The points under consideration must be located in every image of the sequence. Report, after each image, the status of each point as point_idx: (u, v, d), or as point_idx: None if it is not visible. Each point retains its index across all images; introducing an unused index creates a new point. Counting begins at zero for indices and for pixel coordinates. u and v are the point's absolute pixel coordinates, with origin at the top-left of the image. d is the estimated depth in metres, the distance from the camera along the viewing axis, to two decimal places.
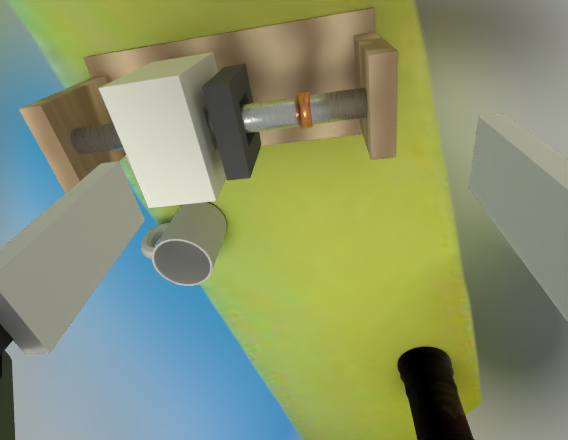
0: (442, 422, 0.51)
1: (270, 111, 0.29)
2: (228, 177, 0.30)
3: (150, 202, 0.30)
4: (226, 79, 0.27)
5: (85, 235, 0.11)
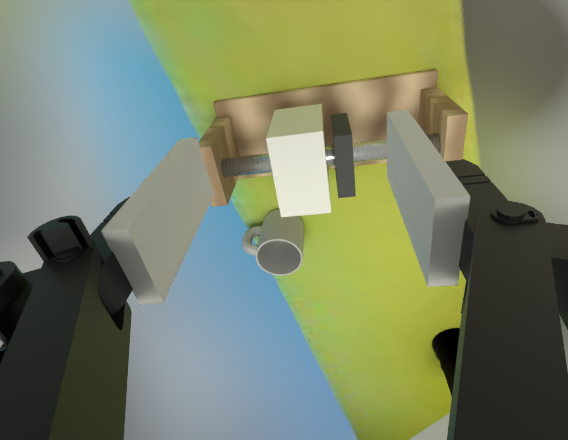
0: None
1: (370, 149, 0.42)
2: (339, 195, 0.42)
3: (283, 213, 0.43)
4: (346, 130, 0.39)
5: (179, 201, 0.12)
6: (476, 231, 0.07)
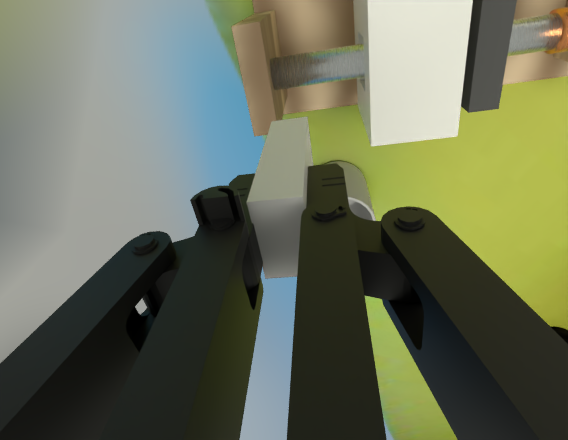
0: None
1: (526, 29, 0.25)
2: (471, 108, 0.25)
3: (375, 138, 0.26)
4: None
5: None
6: (300, 232, 0.08)
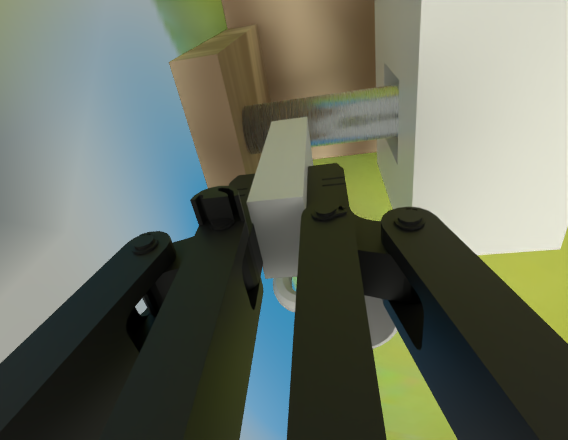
0: None
1: None
2: None
3: None
4: None
5: None
6: (300, 232, 0.08)
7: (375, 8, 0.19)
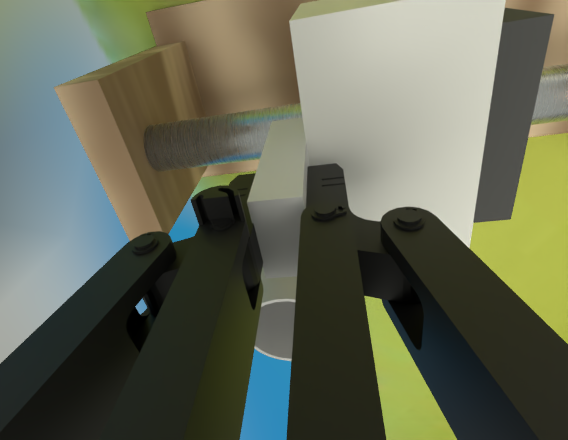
0: None
1: (553, 87, 0.15)
2: None
3: None
4: (515, 13, 0.12)
5: None
6: (300, 232, 0.08)
7: None
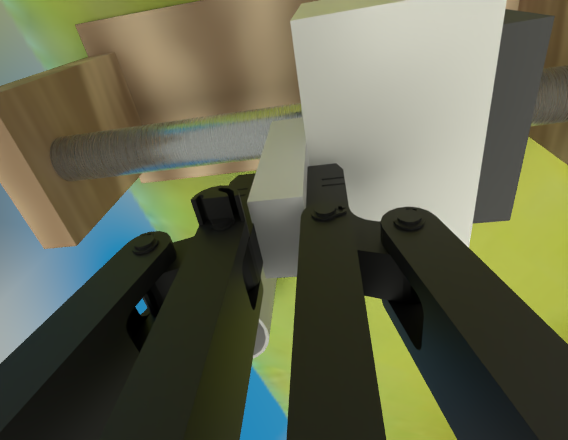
0: None
1: None
2: None
3: None
4: (516, 14, 0.12)
5: None
6: (300, 232, 0.08)
7: None
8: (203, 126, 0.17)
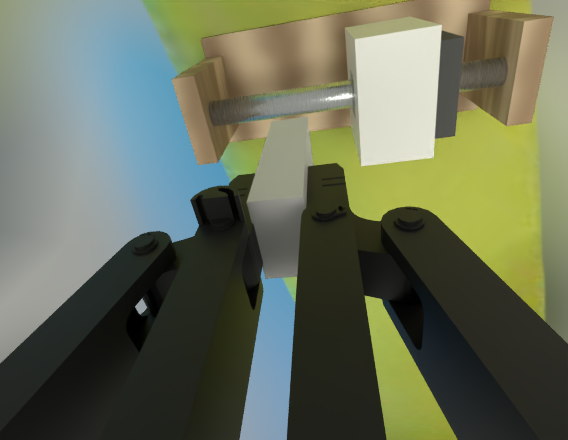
0: None
1: None
2: None
3: (364, 160, 0.31)
4: (451, 35, 0.28)
5: None
6: (300, 232, 0.08)
7: None
8: (295, 92, 0.32)
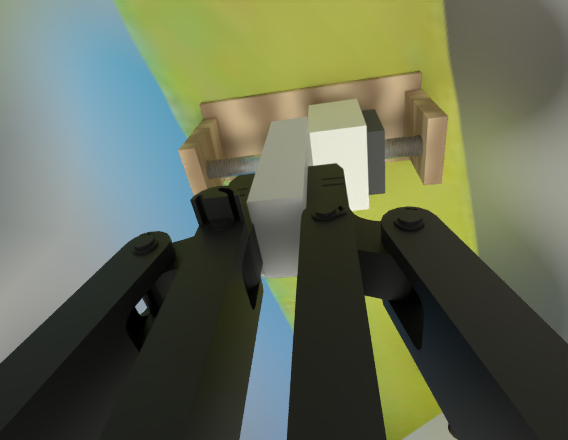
0: None
1: None
2: (369, 192, 0.42)
3: None
4: (378, 126, 0.39)
5: None
6: (300, 232, 0.08)
7: None
8: None
